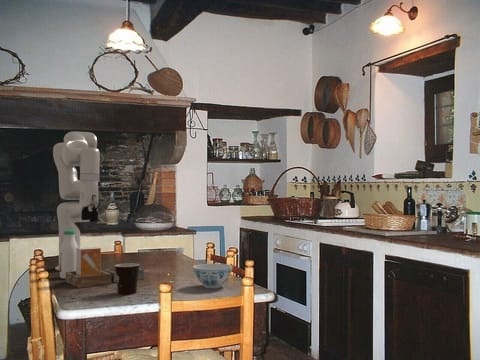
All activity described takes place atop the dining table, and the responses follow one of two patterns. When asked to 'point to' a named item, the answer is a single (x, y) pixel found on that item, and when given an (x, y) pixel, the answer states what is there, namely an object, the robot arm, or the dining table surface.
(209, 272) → the chinaware
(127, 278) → the coffee mug
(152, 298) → the dining table surface
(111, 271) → the frame
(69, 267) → the milk bottle
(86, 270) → the small box
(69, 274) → the walnut trough
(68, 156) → the robot arm
